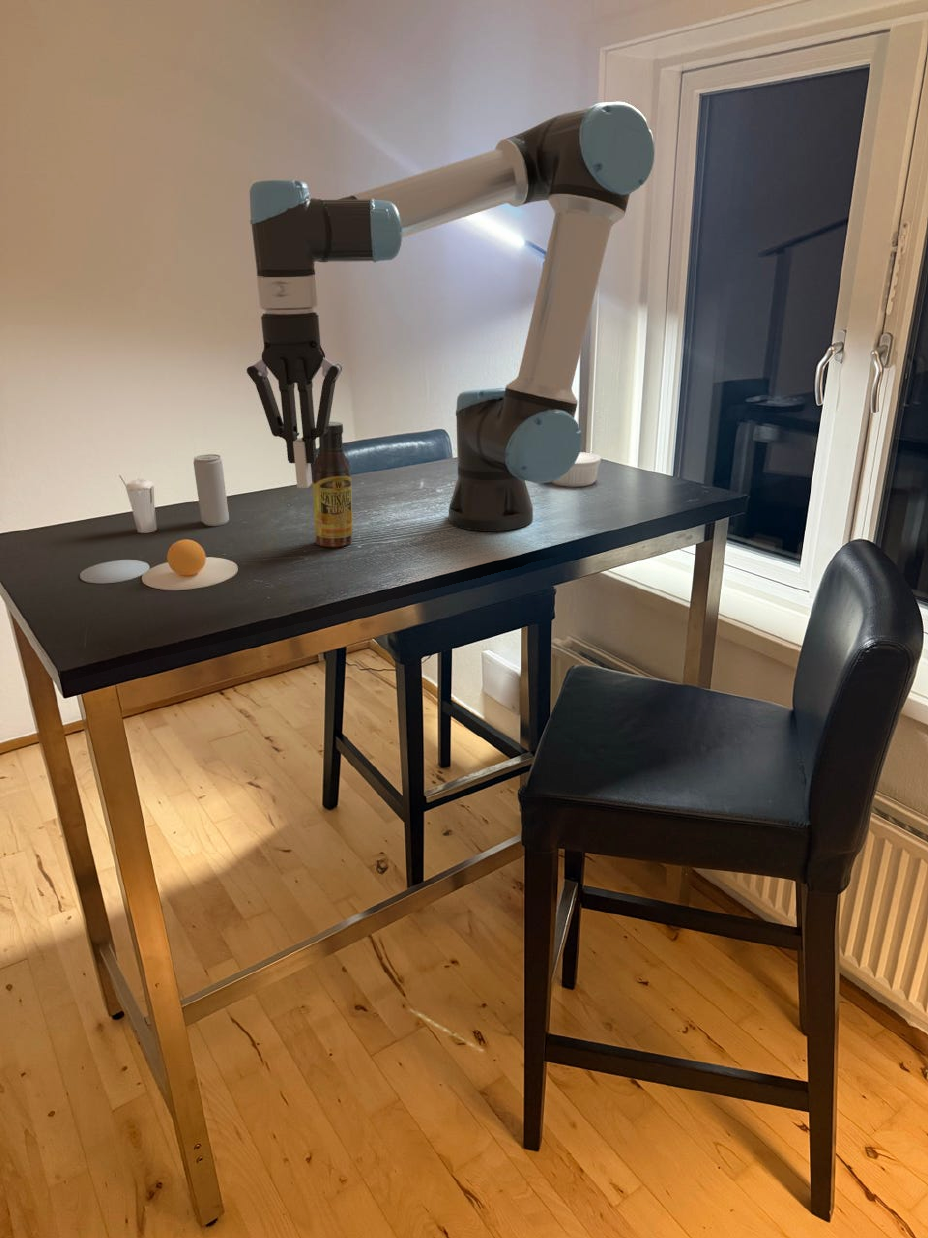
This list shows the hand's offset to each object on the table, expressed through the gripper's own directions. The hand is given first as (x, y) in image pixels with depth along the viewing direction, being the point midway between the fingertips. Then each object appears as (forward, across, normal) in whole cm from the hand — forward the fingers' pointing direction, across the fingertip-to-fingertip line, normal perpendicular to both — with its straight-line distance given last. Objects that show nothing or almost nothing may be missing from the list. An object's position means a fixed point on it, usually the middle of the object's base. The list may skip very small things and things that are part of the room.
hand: (304, 485), depth 123 cm
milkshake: (+14, -36, +21) cm, 44 cm away
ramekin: (+14, +40, +60) cm, 73 cm away
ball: (+11, -19, -1) cm, 22 cm away
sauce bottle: (+14, 0, +16) cm, 21 cm away
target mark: (+14, -19, 0) cm, 24 cm away
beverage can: (+14, -25, +26) cm, 39 cm away
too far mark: (+14, -31, 0) cm, 34 cm away
